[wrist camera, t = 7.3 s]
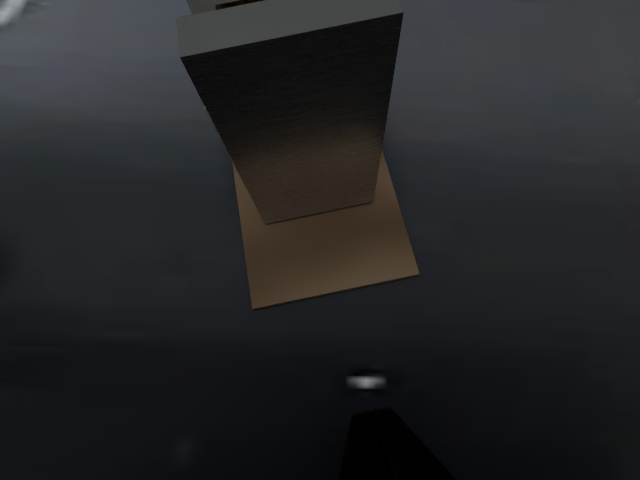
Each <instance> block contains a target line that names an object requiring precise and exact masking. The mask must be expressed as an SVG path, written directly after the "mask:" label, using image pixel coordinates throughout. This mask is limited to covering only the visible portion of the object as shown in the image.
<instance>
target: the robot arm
mask: <svg viewBox="0 0 640 480" xmlns="http://www.w3.org/2000/svg"><path fill="white" fill-rule="evenodd" d="M339 480H456V479H455V478H454V477H453V476H452V475H451V474H450V472H449V471H448V470H447V469H446V468H445V467H444V466H443V465H442V464H441V462H440V461H439V460H438V459H437V458H436V457H435V456H434V455H433V454H432V452H431V451H430V450H429V449H428V448H427V447H426V446H425V445H424V444H423V442H422V441H421V440H420V439H419V438H418V437H417V436H416V435H415V434H414V432H413V431H412V430H411V429H410V428H409V427H408V426H407V425H406V424H405V422H404V421H403V420H402V419H401V418H400V417H399V416H398V415H397V414H396V412H395V411H394V410H393V409H392V408H391V407H388V406H386V407H381V408H377V409H373V410H372V413H371V412H370V411H363V412H358V413H354V414H353V415H352V417H351V422H350V427H349V432H348V436H347V441H346V446H345V451H344V456H343V461H342V465H341V470H340V475H339Z"/></svg>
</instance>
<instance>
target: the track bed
mask: <svg viewBox="0 0 640 480" xmlns="http://www.w3.org/2000/svg"><path fill="white" fill-rule="evenodd" d="M232 163H233V162H232ZM233 170H234V178H235V185H236V192H237V200H238V207H239V215H240V222H241V229H242V237H243V244H244V251H245V259H246V266H247V274H248V281H249V288H250V296H251V303H252V309H253V310H257V309H262V308H266V307H271V306H276V305H281V304H286V303H290V302H295V301H300V300H305V299H309V298H314V297H319V296H324V295H329V294H333V293H338V292H343V291H348V290H352V289H357V288H362V287H367V286H372V285H376V284H381V283H386V282H391V281H396V280H400V279H405V278H410V277H415V276H418V275H419V271H418V267H417V264H416V261H415V257H414V254H413V251H412V247H411V244H410V241H409V237H408V234H407V231H406V227H405V224H404V221H403V217H402V214H401V211H400V207H399V204H398V201H397V197H396V194H395V191H394V187H393V184H392V181H391V177H390V174H389V171H388V167H387V164H386V161H385V157H384V154H383V151H382V152H381V158H380V164H379V170H378V177H377V183H376V189H375V196H374V202H369V203H364V204H359V205H355V206H350V207H345V208H340V209H335V210H330V211H326V212H321V213H316V214H311V215H306V216H301V217H297V218H292V219H287V220H282V221H277V222H272V223H267V224H264V222H263V220H262V218H261V216H260V214H259V212H258V210H257V208H256V206H255V204H254V202H253V200H252V198H251V196H250V194H249V192H248V190H246V188H245V186H244V184H243V182H242V180H241V178H240V176H239V174H238V172H237V170H236V168H235V166H234V164H233Z"/></svg>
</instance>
